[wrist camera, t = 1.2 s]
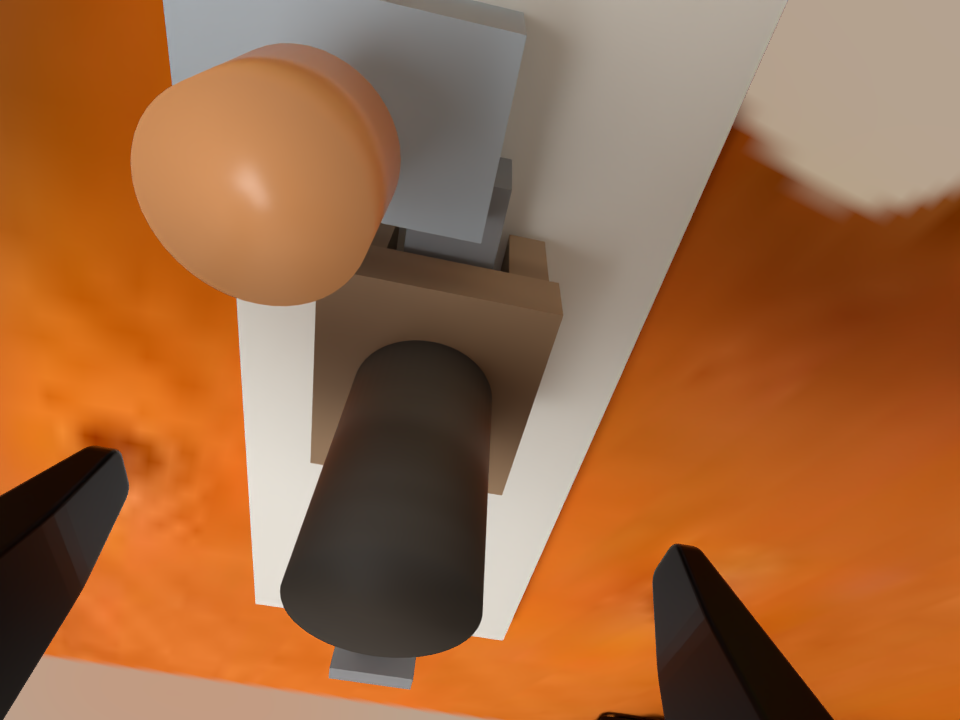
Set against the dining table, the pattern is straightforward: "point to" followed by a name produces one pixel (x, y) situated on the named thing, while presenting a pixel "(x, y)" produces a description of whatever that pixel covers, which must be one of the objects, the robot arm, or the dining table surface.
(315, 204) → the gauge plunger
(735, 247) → the dining table surface
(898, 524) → the dining table surface
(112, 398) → the dining table surface
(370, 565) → the carriage
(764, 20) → the plate
